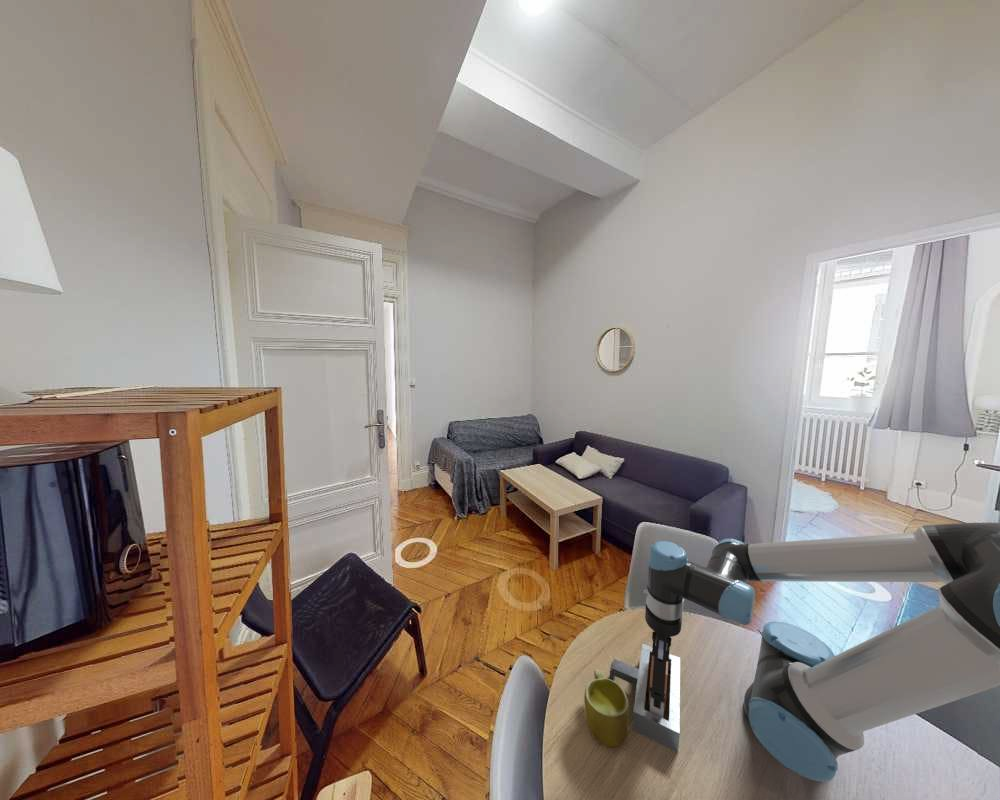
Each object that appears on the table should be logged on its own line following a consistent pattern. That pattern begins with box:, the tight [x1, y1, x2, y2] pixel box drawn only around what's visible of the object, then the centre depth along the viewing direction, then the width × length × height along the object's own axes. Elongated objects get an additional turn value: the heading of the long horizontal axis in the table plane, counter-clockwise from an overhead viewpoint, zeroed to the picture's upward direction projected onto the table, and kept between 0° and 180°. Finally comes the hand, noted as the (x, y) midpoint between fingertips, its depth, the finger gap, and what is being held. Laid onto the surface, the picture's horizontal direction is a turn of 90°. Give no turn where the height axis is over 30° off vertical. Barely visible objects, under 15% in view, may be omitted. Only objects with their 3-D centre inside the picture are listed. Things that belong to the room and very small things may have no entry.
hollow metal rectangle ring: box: [609, 643, 681, 753], centre depth 81 cm, size 16×19×5 cm
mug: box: [583, 669, 630, 749], centre depth 75 cm, size 12×10×10 cm
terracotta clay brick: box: [648, 656, 669, 711], centre depth 79 cm, size 4×4×10 cm
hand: (658, 687), depth 79 cm, fingers open, 13 cm apart
